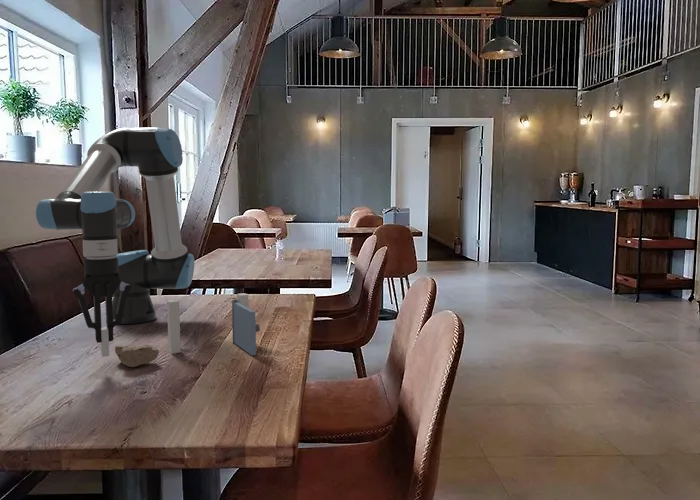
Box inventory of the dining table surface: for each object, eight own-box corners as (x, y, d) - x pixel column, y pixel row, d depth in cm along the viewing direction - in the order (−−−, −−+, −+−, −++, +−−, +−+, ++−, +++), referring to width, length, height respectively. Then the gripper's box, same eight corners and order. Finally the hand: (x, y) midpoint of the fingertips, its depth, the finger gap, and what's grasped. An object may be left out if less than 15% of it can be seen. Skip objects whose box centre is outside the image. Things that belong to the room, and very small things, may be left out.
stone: (124, 371, 138) (121, 351, 138) (116, 362, 148) (112, 343, 148) (162, 361, 143) (159, 342, 142) (151, 353, 153) (148, 335, 152)
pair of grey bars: (168, 351, 157) (166, 300, 156) (245, 340, 168) (244, 293, 167) (171, 353, 154) (169, 302, 153) (249, 342, 166) (248, 294, 164)
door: (251, 357, 151) (250, 309, 150) (232, 342, 165) (231, 299, 164) (261, 355, 153) (261, 308, 152) (242, 341, 167) (241, 298, 166)
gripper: (71, 260, 129) (76, 363, 132) (132, 257, 136) (136, 354, 138) (68, 257, 136) (73, 355, 138) (127, 254, 142) (131, 347, 144)
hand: (105, 354), depth 138 cm, fingers closed
